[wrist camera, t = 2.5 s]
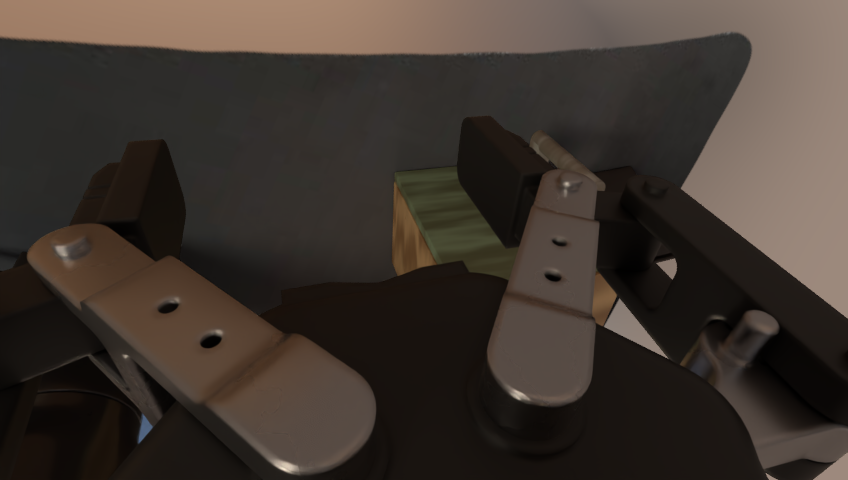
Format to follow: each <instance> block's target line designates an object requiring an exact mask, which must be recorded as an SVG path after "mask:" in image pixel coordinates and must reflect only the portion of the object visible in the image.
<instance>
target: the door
mask: <svg viewBox="0 0 848 480" xmlns="http://www.w3.org/2000/svg"><path fill="white" fill-rule="evenodd" d="M529 147H532V148H533V149H534V150H535V151H536V152H537V154H539V155H540V156H541V157H542V158H543V159H545V160H546V161H547V162H549V160H550V161H551V162H552V163H553V164H554V165H555V166H557V167H558V168H559V169H564V170H571V171H576V172H579V173H581V174H584V175H586V176H588V177H589V178H591V179H592V180H593V181H594V182H595V183H596V185H597V191H605V187H606V186H605V183H604V182H603V181H602V180H600V179H599V178H598V177H597V176H596V175H595V174H593V173H592V172H591V171H590V170H589V169H588V168H586V167H585V166H584V165H583V164H582V163H580V162H579V161H578V160H577V159H576V158H575V157H573V156H572V155H571V154H570V153H569V152H567V151H566V150H565V149H564V148H563V147H562V146H560V145H559V144H558V143H557V142H556V141H554V140H553V139H552V138H551V137H550V136H549V135H547V134H546V133H545V132H544V131H541V130H540V131H537V132H535V133H534V134H533V135H532V137H531V141H530V145H529ZM395 182H396V184H397V186H398V188H399V190H400V191H401V193H402V195H403V197H404V199H405V201H406V203H407V205H408V207H409V209H410V211H411V213H412V215H413V217H414V219H415V221H416V223H417V225H418V227H419V229H420V231H421V233H422V235H423V237H424V239H425V241H426V243H427V245H428V247H429V249H430V251H431V253H432V255H433V256H434V258H435V260H436V262H437V264H443V263H449V262H455V261H461V260H463V262H464V263H465V265H466V267H467V269H468V270H469V272H476V273H484V274H489V275H494V276H498V277H501V278H504V279H507V280H509V278H510V275H511V272H512V269H513V265H514V262H515V259H516V256H517V252H518V249H519V247H516V248H510V249H506V248H505V247H504V245H503V244H502V243H501V241H500V240H499V238H498V237H497V236H496V234H495V233H494V231H493V230H492V229H491V227H490V226H489V224H488V223H487V221H486V220H485V219H484V217H483V216H482V214H481V213H480V212H479V210H478V209H477V207H476V206H475V205H474V203H473V202H472V200H471V199H470V197H469V196H468V195H467V193H466V192H465V190H464V189H463V188H462V186H461V185H460V182H459V179H458V175H457V166H453V167H443V168H433V169H422V170H412V171H402V172H395ZM596 271H598V270H597V268H596Z"/></svg>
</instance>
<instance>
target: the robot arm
mask: <svg viewBox="0 0 848 480" xmlns="http://www.w3.org/2000/svg"><path fill="white" fill-rule="evenodd" d="M457 175H458V179H459V182H460V185H461V186H462V188H463V189H464V190H465V192H466V193H467V195H468V196H469V197H470V199H471V200H472V202H473V203H474V205H475V206H476V207H477V209H478V210H479V212H480V213H481V214H482V216H483V217H484V219H485V220H486V221H487V223H488V224H489V226H490V227H491V229H492V230H493V231H494V233H495V234H496V236H497V237H498V238H499V240H500V241H501V243H502V244H503V245H504V247H505V248H506V249H510V248H516V247H519V249H518V252H517V256H516V259H515V262H514V265H513V269H512V272H511V275H510V278H509V280H507V279H504V278H501V277H498V276H494V275H489V274H484V273H476V272H469V270H468V269H467V267H466V265H465V263H464V262H463V260H461V261H455V262H449V263H443V264H437V265H431V266H425V267H420V268H418V269H415V270H412V271H410V272H407V273H405V274H402V275H399V276H397V277H394V278H391V279H389V280H386V281H383V282H379V283H340V282H329V283H323V284H317V285H311V286H305V287H299V288H293V289H287V290H281V295H282V305H279V306H277V307H274V308H272V309H270V310H268V311H266V312H264V313H262V314H261V315H259V316H258V315H256V314H255V313H253V312H252V311H251V310H249V309H248V308H246V307H245V306H243V305H242V304H241V303H239V302H238V301H236V300H235V299H233V298H232V297H231V296H229V295H228V294H226V293H225V292H224V291H222V290H221V289H219V288H218V287H216V286H215V285H214V284H212V283H211V282H209V281H208V280H206V279H205V278H204V277H202V276H201V275H199V274H198V273H196V272H195V271H194V270H192V269H191V268H189V267H188V266H186V265H185V264H184V263H182V262H181V261H179V256H180V249H181V243H182V237H183V230H184V224H185V217H186V209H185V202H184V197H183V193H182V190H181V187H180V184H179V180H178V177H177V174H176V171H175V168H174V165H173V162H172V158H171V155H170V152H169V149H168V146H167V144H166V142H165V141H164V140H163V139H160V140H147V141H133V142H129V143H128V145H127V147H126V150H125V152H124V155H123V157H122V159H121V162H119V163H109V164H107V165H106V166H105V167H103V168H102V169H101V170H99V171H98V172H97V173H96V174H94V175H93V177H92V179H91V181H90V183H89V186H88V190H86V192H85V194H84V196H83V200H81V202H80V204H79V206H78V208H77V210H76V212H75V214H74V217H73V219H72V221H71V223H70V225H69V226H68V227H65V228H61V229H59V230H56V231H54V232H51V233H49V234H47V235H46V236H44V237H42V238H41V239H39V240H38V241H36V242H35V243H34V244H33V245H32V246H31V248H30V249H29V251H28V253H27V252H21V254H20V256H19V257H18V259H17V261H16V263H15V264H14V266H13V268H12V269H9V270H5V271H0V480H769V479H768V478H767V476H766V474H765V473H767V474H769V475H770V476H772V477H774V478H776V479H778V480H813V479H814V478H815V477H817V476H818V475H819V474H821V473H822V472H823V471H824V470H826V469H827V468H828V467H829V466H830V465H832V464H833V463H834V462H836V461H837V460H838V459H839V458H841V457H842V456H843V455H844V454H846V453H847V452H848V319H847V318H846V317H845V316H843V315H842V314H841V313H840V312H838V311H837V310H836V309H834V308H833V307H832V306H831V305H829V304H828V303H827V302H825V301H824V300H823V299H822V298H820V297H819V296H818V295H816V294H815V293H814V292H812V291H811V290H810V289H809V288H807V287H806V286H805V285H804V284H802V283H801V282H800V281H798V280H797V279H796V278H795V277H793V276H792V275H791V274H789V273H788V272H787V271H786V270H784V269H783V268H781V267H780V266H779V265H778V264H777V263H775V262H774V261H773V260H771V259H770V258H769V257H767V256H766V255H765V254H764V253H762V252H761V251H760V250H758V249H757V248H756V247H755V246H753V245H752V244H751V243H749V242H748V241H747V240H746V239H744V238H743V237H742V236H741V235H739V234H738V233H737V232H735V231H734V230H733V229H732V228H730V227H729V226H728V225H726V224H725V223H724V222H722V221H721V220H720V219H719V218H717V217H716V216H715V215H714V214H712V213H711V212H710V211H708V210H707V209H706V208H704V207H703V206H702V205H701V204H699V203H698V202H697V201H696V200H694V199H693V198H692V197H690V196H689V195H688V194H687V193H685V192H684V191H683V190H681V189H680V188H679V187H678V186H676V185H675V184H673V183H671V182H669V181H667V180H664V179H662V178H658V177H654V176H648V175H637V176H633V177H631V178H629V179H628V180H627V183H626V185H625V188H624V190H623V193H622V192H608V191H597V185H596V183H595V182H594V181H593V180H592V179H591V178H589V177H588V176H586V175H584V174H581V173H579V172H576V171H571V170H564V169H556V170H555V169H554V168H553V167H552V166H551V165H550V164H549V163H548V162H547V161H546V160H545V159H543V158H542V157H541V156H540V155H539V154H537V152H536V151H535V150H534V149H533V148H532V147H529V144H527V143H526V142H525V141H524V140H523V139H522V138H521V137H519V136H517V135H515V134H513V133H511V132H509V131H507V130H505V129H504V128H503V127H502V126H500V125H499V124H498V123H497V122H496V121H495V120H494V119H493V118H492V117H491V116H478V117H466V118H465V119H464V120H463V123H462V127H461V135H460V144H459V153H458V162H457ZM661 244H663V245H664V246H665V247H666V248H667V249H668V250H669V251H670V252H671V253H672V254H673V256H674V257H675V259H676V262H677V272H676V274H675V276H674V278H673V280H672V279H671V278H670V277H669V276H668V275H667V274H666V273H665V272H664V271H663V270H662V269H661V268H660V267H659V266H658V265H657V264H656V263H655V262H654V259H655V257H656V255H657V253H658V250H659V248H660V246H661ZM596 268H597V270H598V272H599V273H600V274H601V276H602V277H603V278H604V279H605V281H606V282H607V283H608V284H609V286H610V287H611V288H612V289H613V290H614V292H615V293H616V294H617V295H618V297H619V298H620V299H621V300H622V302H623V303H624V304H625V305H626V307H627V308H628V309H629V310H630V311H631V313H632V314H633V315H634V316H635V318H636V319H637V320H638V321H639V323H640V324H641V325H642V326H643V327H644V328H645V330H646V331H647V333H648V334H649V335H650V336H651V337H652V339H653V340H654V341H655V342H656V344H657V345H658V346H659V347H660V349H661V350H662V351H663V352H664V354H665V355H666V356H667V357H668V358H669V359H667V358H665V357H663V356H661V355H659V354H657V353H655V352H653V351H651V350H649V349H647V348H645V347H643V346H641V345H639V344H637V343H635V342H633V341H631V340H629V339H627V338H625V337H623V336H621V335H619V334H617V333H615V332H613V331H611V330H609V329H607V328H605V327H603V326H601V325H599V324H597V323H596V321H595V318H594V317H593V316H592V309H593V297H594V285H595V273H596ZM143 415H144V416H145V417H146V419H147V420H148V421H149V423H150V424H151V425H152V427H153V428H152V429H151V430H150V431H149V433H148V434H147V435H146V436H145V437H144V438H143V439H142V441H141V442H140V443H139V436H140V431H141V425H142V420H143Z"/></svg>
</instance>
